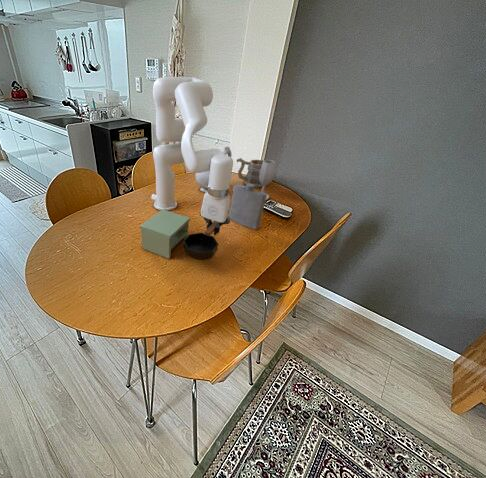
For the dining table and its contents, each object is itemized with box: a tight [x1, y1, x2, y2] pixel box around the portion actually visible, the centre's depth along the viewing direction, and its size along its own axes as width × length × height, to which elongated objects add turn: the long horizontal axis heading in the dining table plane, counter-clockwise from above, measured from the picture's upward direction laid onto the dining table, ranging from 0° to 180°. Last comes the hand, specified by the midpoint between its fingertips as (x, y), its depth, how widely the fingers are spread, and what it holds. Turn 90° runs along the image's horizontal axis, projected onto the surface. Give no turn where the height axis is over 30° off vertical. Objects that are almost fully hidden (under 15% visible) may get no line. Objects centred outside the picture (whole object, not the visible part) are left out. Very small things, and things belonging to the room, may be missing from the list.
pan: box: [182, 221, 219, 261], centre depth 99 cm, size 12×22×5 cm, turn 150°
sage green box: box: [139, 210, 191, 259], centre depth 107 cm, size 14×16×11 cm
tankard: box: [235, 157, 264, 189], centre depth 163 cm, size 20×13×15 cm, turn 66°
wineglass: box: [259, 159, 276, 201], centre depth 143 cm, size 9×9×21 cm
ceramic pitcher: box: [195, 146, 232, 193], centre depth 151 cm, size 22×20×25 cm
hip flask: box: [229, 183, 268, 231], centre depth 119 cm, size 16×4×20 cm, turn 47°
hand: (212, 232), depth 104 cm, fingers closed on pan
